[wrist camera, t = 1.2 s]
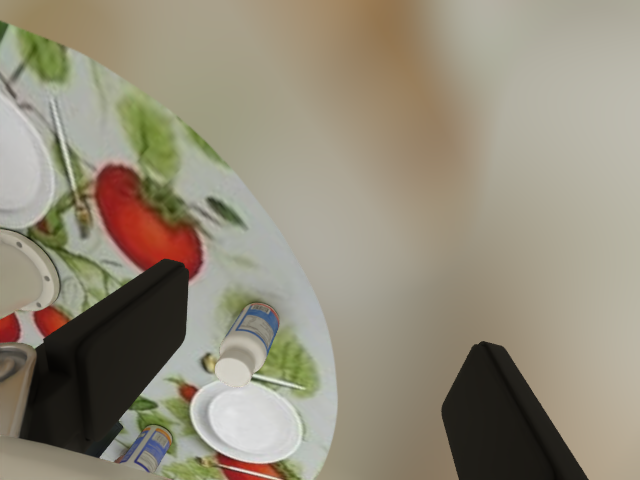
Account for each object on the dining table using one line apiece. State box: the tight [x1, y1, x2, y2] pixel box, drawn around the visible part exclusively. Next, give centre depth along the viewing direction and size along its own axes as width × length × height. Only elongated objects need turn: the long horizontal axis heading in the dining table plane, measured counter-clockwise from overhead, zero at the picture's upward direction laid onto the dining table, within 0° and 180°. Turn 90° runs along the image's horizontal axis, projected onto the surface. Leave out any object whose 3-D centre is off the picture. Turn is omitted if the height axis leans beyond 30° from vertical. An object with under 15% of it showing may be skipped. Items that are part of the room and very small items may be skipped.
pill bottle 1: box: [119, 425, 172, 474], centre depth 48 cm, size 5×5×10 cm
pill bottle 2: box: [215, 303, 279, 387], centre depth 36 cm, size 6×5×10 cm
